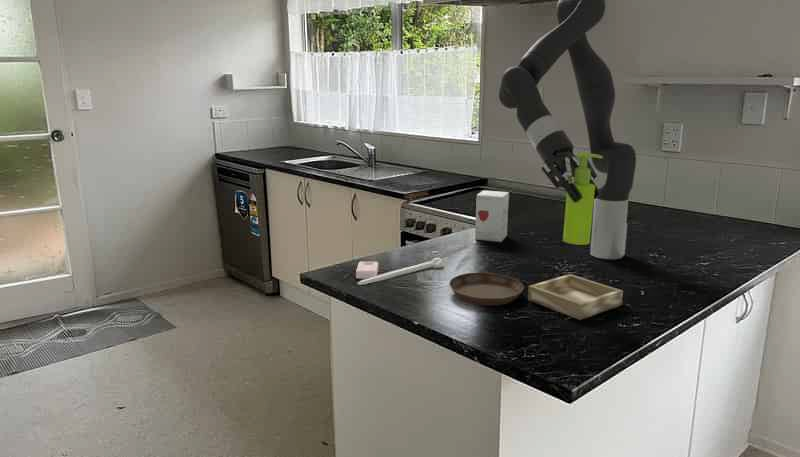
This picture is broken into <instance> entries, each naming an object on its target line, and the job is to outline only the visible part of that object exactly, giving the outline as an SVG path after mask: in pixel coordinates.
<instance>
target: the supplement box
mask: <svg viewBox="0 0 800 457" xmlns="http://www.w3.org/2000/svg"><path fill="white" fill-rule="evenodd" d="M475 198H476V199H475V200H476V201H475V204H476V206H475V224H474V225H475V226H474V227H475V229H474V240H476V241H477V240H480V241H487V242H488V241H489V242H498V243H502V242H503V241H504V239H506V237H507V236H508V219H509V218H508V217H509V216H508V215H509V201H510V191H509V192H507V191H496V190H484V189H483V190H481V191H480V192H478V193H477V194H476V197H475Z"/></svg>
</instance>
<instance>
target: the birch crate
mask: <svg viewBox="0 0 800 457" xmlns="http://www.w3.org/2000/svg"><path fill="white" fill-rule="evenodd" d="M527 291H528V294H527V301H530V302H532V303H535V304H537V305H539V306H543V307H545V308H548V309H550V310H553V311H555V312H557V313H561V314H564V315H567V316H569V317H572V318H574V319H577V320H579V321H581V320H584V319H587V318H590V317H593V316H595V315H598V314H600V313H603V312H606V311H610V310H613V309H615V308H618V307H620V306H622V305H623V296H624V291H623V290H622V289H619V288H616V287H613V286H609V285H606V284H603V283H600V282H596V281H593V280H592V279H591V280H590V279H587V278H583V277H581V276H577V275H574V274H571V273H570V274H569V273H568V274H566V275H562V276H558V277H555V278H551V279H548V280H545V281H542V282H538V283H537V282H536V283H535V284H531V285H528V289H527Z"/></svg>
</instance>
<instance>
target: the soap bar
mask: <svg viewBox="0 0 800 457" xmlns="http://www.w3.org/2000/svg"><path fill="white" fill-rule="evenodd" d="M378 271H379V262H378V261H359V262H358V264H357V268H356V270H355V278H356V279H359V280H360V279H361V280H365V279H369V278H372V277H375V276H378Z"/></svg>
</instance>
